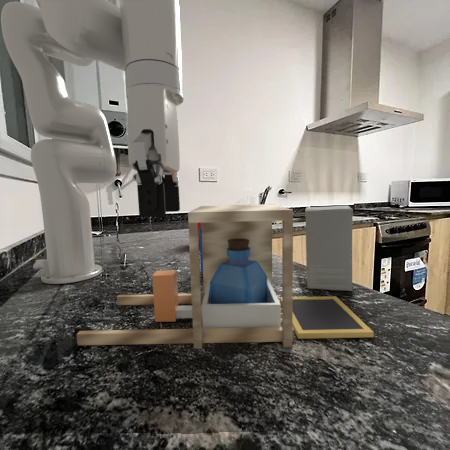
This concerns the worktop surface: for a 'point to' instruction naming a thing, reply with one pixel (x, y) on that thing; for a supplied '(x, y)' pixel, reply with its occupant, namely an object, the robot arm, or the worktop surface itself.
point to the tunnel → (259, 251)
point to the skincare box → (329, 247)
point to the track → (175, 330)
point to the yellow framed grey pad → (326, 319)
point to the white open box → (213, 307)
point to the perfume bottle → (238, 277)
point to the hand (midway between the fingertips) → (162, 213)
